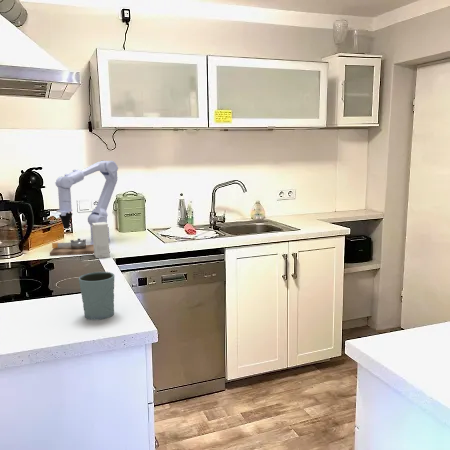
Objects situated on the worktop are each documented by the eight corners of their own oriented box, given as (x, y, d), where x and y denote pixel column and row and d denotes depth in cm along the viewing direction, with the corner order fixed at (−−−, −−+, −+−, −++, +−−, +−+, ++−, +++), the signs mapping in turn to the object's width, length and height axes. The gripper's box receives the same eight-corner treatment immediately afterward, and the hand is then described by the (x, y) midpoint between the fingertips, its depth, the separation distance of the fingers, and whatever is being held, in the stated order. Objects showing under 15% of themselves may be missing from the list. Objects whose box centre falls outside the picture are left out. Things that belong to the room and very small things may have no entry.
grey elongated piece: (86, 245, 226) (86, 238, 226) (85, 248, 220) (84, 241, 219) (54, 247, 224) (53, 239, 223) (51, 250, 217) (50, 242, 216)
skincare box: (110, 257, 209) (108, 224, 207) (95, 258, 207) (93, 224, 204) (107, 253, 217) (106, 221, 214) (93, 254, 214) (91, 222, 212)
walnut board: (96, 247, 231) (96, 244, 231) (94, 253, 216) (94, 250, 216) (55, 249, 227) (55, 245, 227) (49, 255, 213) (49, 252, 212)
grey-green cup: (122, 314, 137) (121, 275, 135) (93, 323, 129) (90, 283, 128) (103, 306, 144) (101, 269, 142) (74, 315, 136) (72, 276, 134)
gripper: (58, 199, 230) (60, 226, 233) (53, 202, 216) (55, 231, 218) (73, 199, 232) (75, 225, 234) (69, 202, 217) (71, 230, 220)
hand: (66, 228), depth 226 cm, fingers closed
